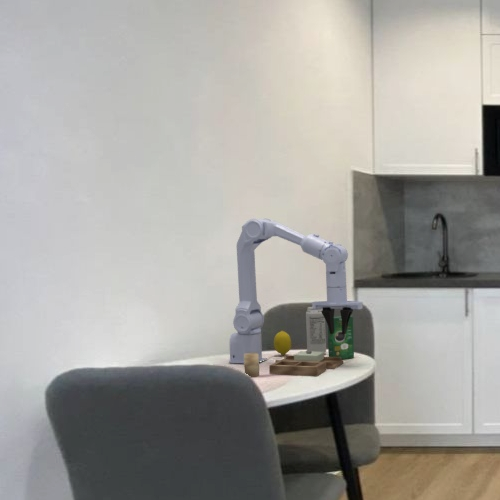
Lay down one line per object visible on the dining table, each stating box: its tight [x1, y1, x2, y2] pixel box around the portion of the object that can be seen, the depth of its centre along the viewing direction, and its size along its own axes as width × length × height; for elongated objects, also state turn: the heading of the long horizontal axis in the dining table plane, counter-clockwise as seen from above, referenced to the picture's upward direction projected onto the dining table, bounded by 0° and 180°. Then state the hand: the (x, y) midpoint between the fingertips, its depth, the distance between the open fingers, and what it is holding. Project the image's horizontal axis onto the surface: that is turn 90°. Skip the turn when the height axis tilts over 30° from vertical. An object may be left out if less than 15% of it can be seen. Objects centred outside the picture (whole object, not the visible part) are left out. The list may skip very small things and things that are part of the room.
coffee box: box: [327, 315, 355, 360], centre depth 220 cm, size 8×3×13 cm, turn 118°
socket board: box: [268, 359, 327, 377], centre depth 203 cm, size 14×8×2 cm, turn 66°
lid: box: [293, 349, 326, 362], centre depth 213 cm, size 7×7×3 cm
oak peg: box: [243, 353, 260, 378], centre depth 201 cm, size 4×4×6 cm
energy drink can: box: [305, 306, 327, 354], centre depth 230 cm, size 6×6×15 cm
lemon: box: [273, 330, 292, 356], centre depth 230 cm, size 6×6×8 cm
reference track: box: [274, 354, 344, 370], centre depth 213 cm, size 18×9×2 cm, turn 66°
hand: (338, 333), depth 209 cm, fingers open, 3 cm apart
